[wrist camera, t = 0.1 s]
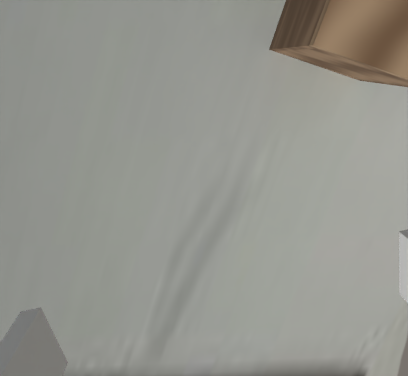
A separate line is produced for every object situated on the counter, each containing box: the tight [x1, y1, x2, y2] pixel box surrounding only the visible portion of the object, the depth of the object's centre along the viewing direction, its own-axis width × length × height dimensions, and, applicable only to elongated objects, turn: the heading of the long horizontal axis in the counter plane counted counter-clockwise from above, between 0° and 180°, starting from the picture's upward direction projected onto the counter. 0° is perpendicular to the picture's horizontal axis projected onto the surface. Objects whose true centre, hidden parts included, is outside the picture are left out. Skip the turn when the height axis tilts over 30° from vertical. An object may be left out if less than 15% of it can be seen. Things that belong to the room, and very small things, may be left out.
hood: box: [270, 0, 408, 87], centre depth 28 cm, size 11×11×13 cm
